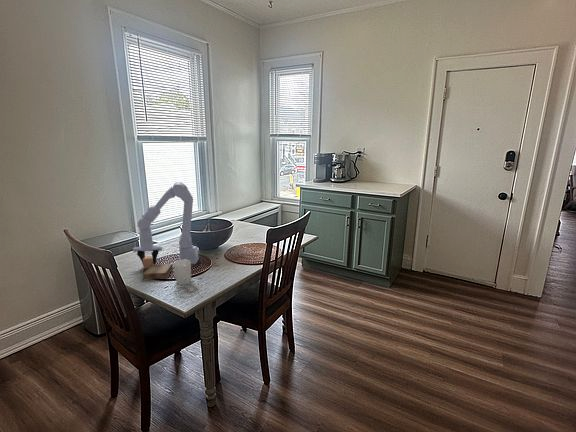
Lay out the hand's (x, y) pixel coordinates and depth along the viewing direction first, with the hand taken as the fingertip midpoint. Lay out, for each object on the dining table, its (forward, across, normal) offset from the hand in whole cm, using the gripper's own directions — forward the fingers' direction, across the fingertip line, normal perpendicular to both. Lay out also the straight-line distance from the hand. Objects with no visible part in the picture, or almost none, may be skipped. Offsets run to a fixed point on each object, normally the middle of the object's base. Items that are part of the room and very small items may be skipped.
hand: (149, 263), depth 171 cm
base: (+1, -8, +11) cm, 14 cm away
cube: (+1, 0, 0) cm, 1 cm away
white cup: (+2, -23, +21) cm, 31 cm away
